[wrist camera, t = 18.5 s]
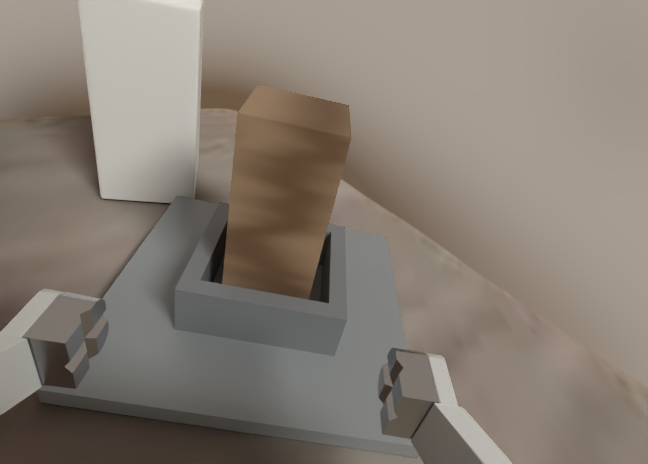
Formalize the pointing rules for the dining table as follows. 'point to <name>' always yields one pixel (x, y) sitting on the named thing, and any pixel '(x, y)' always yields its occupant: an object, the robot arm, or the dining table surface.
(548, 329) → the dining table surface
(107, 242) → the dining table surface
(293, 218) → the walnut block
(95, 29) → the milk carton
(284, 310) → the socket base
